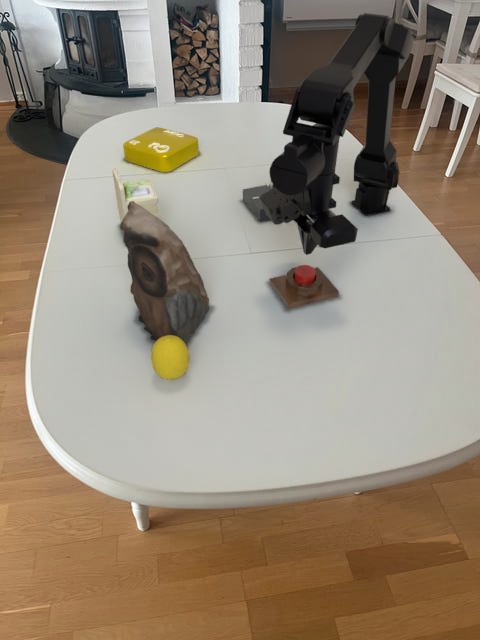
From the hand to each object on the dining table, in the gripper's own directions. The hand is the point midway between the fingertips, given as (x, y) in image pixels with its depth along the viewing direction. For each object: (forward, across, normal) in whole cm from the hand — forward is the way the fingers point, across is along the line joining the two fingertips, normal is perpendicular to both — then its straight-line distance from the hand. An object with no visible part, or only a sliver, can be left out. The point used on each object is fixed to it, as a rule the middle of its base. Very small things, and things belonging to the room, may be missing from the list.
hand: (307, 253), depth 89 cm
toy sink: (+8, -30, -23) cm, 39 cm away
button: (+5, 0, 0) cm, 5 cm away
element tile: (+8, -65, -9) cm, 66 cm away
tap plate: (+8, -30, +8) cm, 32 cm away
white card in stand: (+5, -30, +8) cm, 31 cm away
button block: (+8, 0, 0) cm, 8 cm away
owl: (+8, 0, -24) cm, 25 cm away
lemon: (+8, +12, -28) cm, 32 cm away
